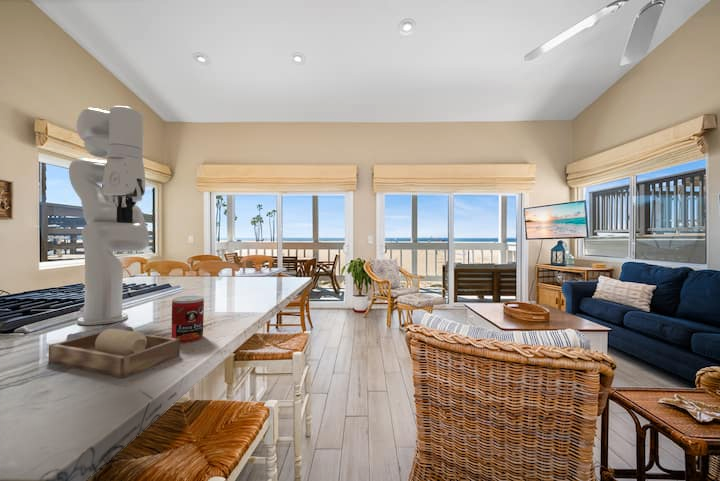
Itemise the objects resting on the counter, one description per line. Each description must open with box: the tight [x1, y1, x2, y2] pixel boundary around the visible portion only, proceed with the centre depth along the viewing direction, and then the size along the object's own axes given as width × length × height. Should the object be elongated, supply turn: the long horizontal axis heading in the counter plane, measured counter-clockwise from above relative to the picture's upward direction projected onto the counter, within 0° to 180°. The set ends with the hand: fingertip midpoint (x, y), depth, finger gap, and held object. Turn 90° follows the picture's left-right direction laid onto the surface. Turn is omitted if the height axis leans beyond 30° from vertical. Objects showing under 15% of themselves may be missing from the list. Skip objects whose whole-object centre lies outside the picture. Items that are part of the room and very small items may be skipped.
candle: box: [95, 329, 147, 356], centre depth 71 cm, size 6×6×10 cm
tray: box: [48, 331, 181, 379], centre depth 71 cm, size 22×13×4 cm, turn 73°
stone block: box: [65, 323, 135, 341], centre depth 83 cm, size 12×5×10 cm
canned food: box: [170, 295, 205, 344], centre depth 87 cm, size 8×8×11 cm
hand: (124, 222), depth 86 cm, fingers closed
